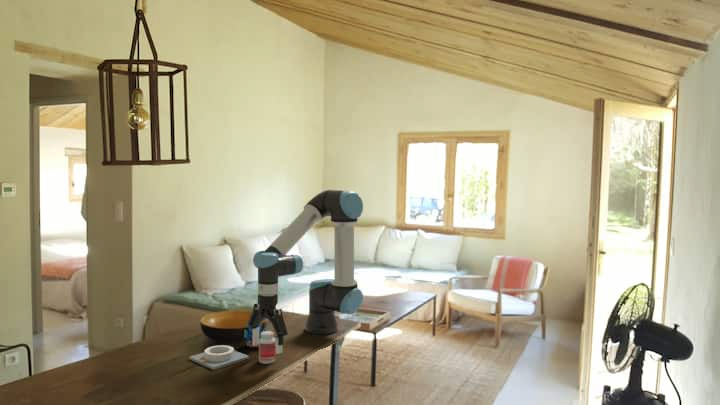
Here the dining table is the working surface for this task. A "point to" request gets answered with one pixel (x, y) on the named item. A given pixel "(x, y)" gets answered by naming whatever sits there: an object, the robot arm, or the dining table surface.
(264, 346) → the pill bottle
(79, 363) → the dining table surface
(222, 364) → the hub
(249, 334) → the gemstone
